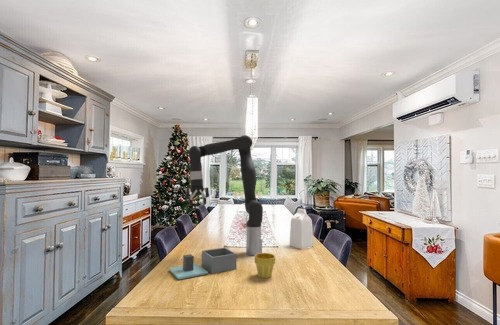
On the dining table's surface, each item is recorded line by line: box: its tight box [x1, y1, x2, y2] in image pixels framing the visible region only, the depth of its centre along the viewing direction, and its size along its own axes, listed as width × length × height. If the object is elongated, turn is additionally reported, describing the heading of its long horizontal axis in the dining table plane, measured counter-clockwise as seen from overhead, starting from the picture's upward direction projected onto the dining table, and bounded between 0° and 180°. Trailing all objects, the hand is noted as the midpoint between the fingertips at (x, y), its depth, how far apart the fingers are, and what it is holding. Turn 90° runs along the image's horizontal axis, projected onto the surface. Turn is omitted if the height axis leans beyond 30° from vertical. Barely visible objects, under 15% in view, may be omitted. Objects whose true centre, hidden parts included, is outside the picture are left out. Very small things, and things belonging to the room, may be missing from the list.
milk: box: [289, 208, 314, 250], centre depth 194 cm, size 12×12×26 cm
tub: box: [201, 247, 238, 275], centre depth 148 cm, size 14×14×8 cm
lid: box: [168, 253, 209, 280], centre depth 139 cm, size 15×15×9 cm
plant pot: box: [254, 252, 276, 279], centre depth 137 cm, size 10×10×10 cm
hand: (197, 205), depth 168 cm, fingers open, 8 cm apart
